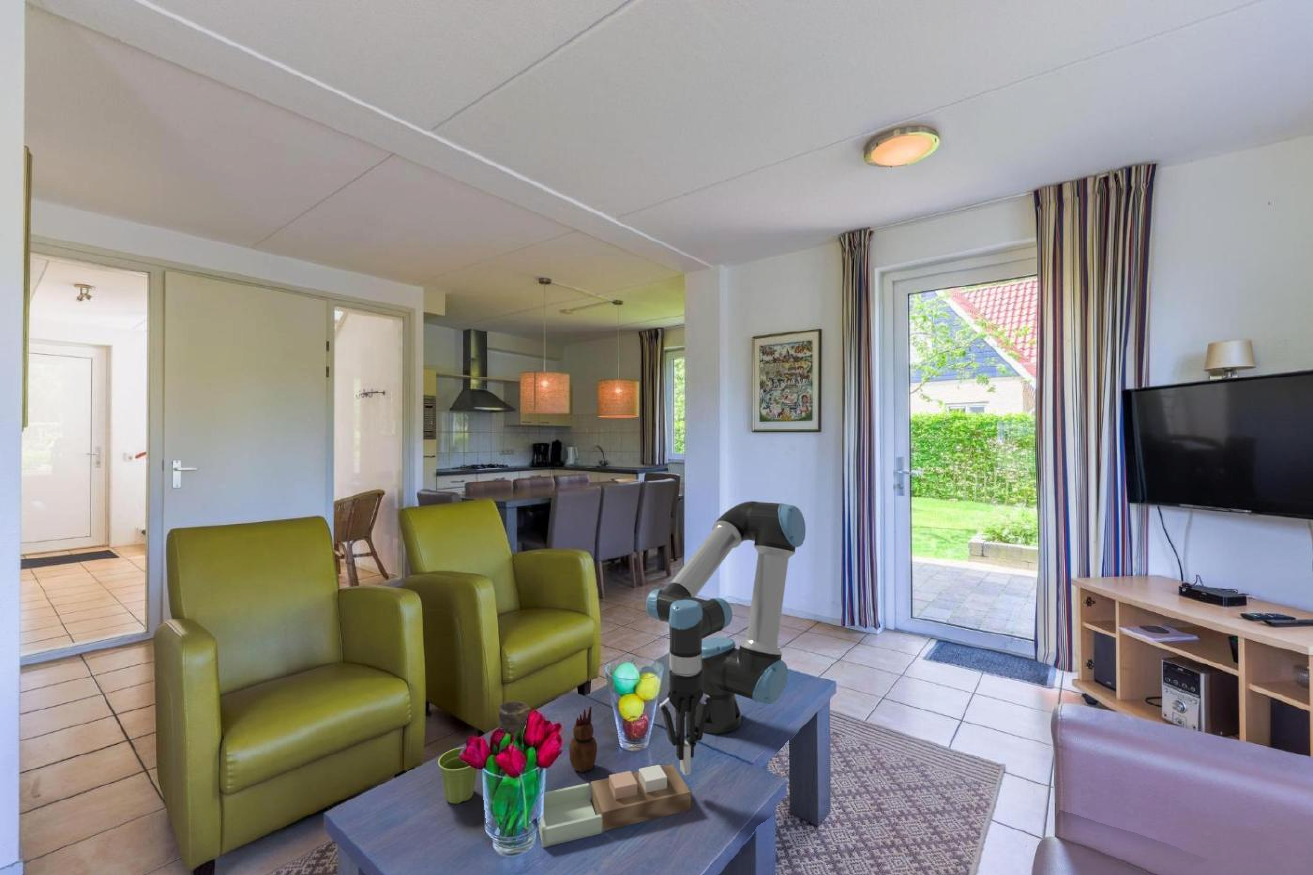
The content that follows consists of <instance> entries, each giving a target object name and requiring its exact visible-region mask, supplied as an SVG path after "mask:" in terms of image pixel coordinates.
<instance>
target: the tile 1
mask: <svg viewBox="0 0 1313 875" xmlns="http://www.w3.org/2000/svg"><path fill="white" fill-rule="evenodd" d="M632 773H633V772H632V771H631V770H628V771H622V772H617V773H613V774H609V775H608V778H609V787H610V789H611V792H612V794H613V796H614V798H615V800H617V799H621V798H625V797H630V796H634V795H637V782H636V780H635V778H634V777H633V775H632Z"/></svg>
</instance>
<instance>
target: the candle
mask: <svg viewBox="0 0 1313 875" xmlns="http://www.w3.org/2000/svg"><path fill="white" fill-rule="evenodd" d="M529 713H530V714H531V707H530V705H529V704H528V703H526V702H523V701H506V702H503V703H502V704H500V705H499V706H498V729H499V728H502V729H501V730H503V731H504V732H506V733H508V734H512V735H513V734H515V733H517V732H519V731H521V730H523V729H524V727H525V725H526V720H527V715H528V714H529Z"/></svg>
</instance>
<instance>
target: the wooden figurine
mask: <svg viewBox="0 0 1313 875" xmlns="http://www.w3.org/2000/svg"><path fill="white" fill-rule="evenodd" d="M593 726H594V725H593V724H592V706H590V707H589V709H588V714H587V713H586V709H583V715H582V713H579V717H576V720H575V724H574V725H573V728H572V732H573V733H572V734H573V737H572V738H571V740H570V742H569V745H568V746H569V761H570V764H571V767H572V768H573V769H574V770H575V771H577V772H583V773H584V772H588V771H590V770H591V769H593V767H594V765H595V763H596V760H597V754H598V742H597V740H596V739H595V737H593V735H594V727H593Z"/></svg>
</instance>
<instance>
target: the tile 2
mask: <svg viewBox="0 0 1313 875" xmlns="http://www.w3.org/2000/svg"><path fill="white" fill-rule="evenodd" d="M661 767H662V766H661V765H660V764H657V765H651V766H647V767H642V768H638V772H639V781H640V783H641V785H642V787H643V789H644V790H645V792H646V793H648V792H652V791H656V790H661V789H665V788H667V776H666V775H665V773H664V771H663V770H662V768H661Z"/></svg>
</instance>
